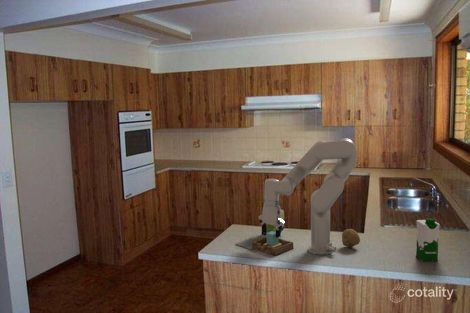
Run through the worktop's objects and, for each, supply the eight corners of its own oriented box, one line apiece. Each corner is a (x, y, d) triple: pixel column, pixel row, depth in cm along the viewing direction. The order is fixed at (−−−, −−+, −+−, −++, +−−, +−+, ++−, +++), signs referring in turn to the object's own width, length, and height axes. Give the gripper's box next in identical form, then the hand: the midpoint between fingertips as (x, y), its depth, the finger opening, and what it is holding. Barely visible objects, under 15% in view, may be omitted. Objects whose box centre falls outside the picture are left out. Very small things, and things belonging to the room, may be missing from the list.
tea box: (278, 242, 223) (278, 216, 221) (261, 240, 226) (260, 215, 224) (284, 234, 237) (284, 209, 235) (267, 232, 240) (267, 208, 238)
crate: (293, 248, 212) (293, 242, 212) (275, 256, 203) (275, 249, 202) (270, 241, 224) (270, 235, 223) (252, 248, 214) (252, 242, 214)
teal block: (278, 243, 213) (278, 232, 212) (273, 246, 210) (273, 234, 209) (272, 242, 216) (272, 231, 215) (266, 244, 213) (266, 233, 212)
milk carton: (422, 262, 190) (423, 220, 187) (413, 255, 199) (414, 215, 196) (440, 261, 190) (442, 220, 187) (430, 254, 199) (432, 214, 196)
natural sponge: (361, 246, 213) (361, 227, 211) (357, 251, 205) (357, 232, 204) (344, 243, 217) (344, 225, 216) (339, 249, 210) (339, 230, 209)
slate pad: (266, 244, 220) (266, 243, 220) (251, 250, 212) (251, 249, 212) (250, 239, 229) (250, 238, 229) (235, 244, 221) (235, 243, 221)
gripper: (289, 204, 206) (288, 237, 209) (264, 198, 219) (263, 229, 221) (279, 207, 201) (279, 240, 204) (254, 200, 214) (254, 232, 216)
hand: (270, 234), depth 212 cm, fingers open, 9 cm apart
